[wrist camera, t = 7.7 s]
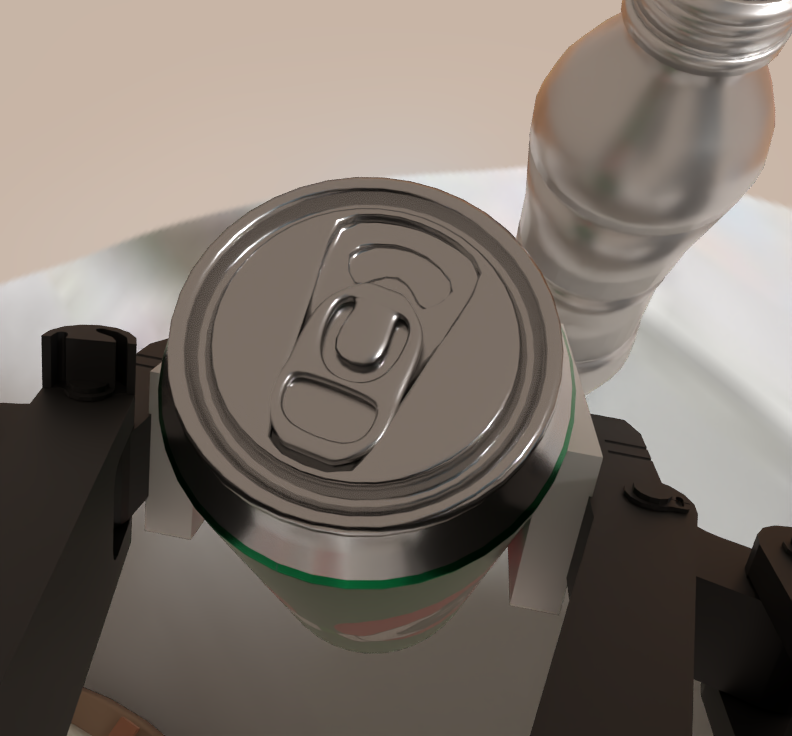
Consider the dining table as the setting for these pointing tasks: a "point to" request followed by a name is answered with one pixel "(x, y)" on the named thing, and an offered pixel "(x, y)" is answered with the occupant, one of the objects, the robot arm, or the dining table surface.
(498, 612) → the dining table surface
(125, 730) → the base
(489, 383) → the soda can
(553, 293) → the plastic bottle
